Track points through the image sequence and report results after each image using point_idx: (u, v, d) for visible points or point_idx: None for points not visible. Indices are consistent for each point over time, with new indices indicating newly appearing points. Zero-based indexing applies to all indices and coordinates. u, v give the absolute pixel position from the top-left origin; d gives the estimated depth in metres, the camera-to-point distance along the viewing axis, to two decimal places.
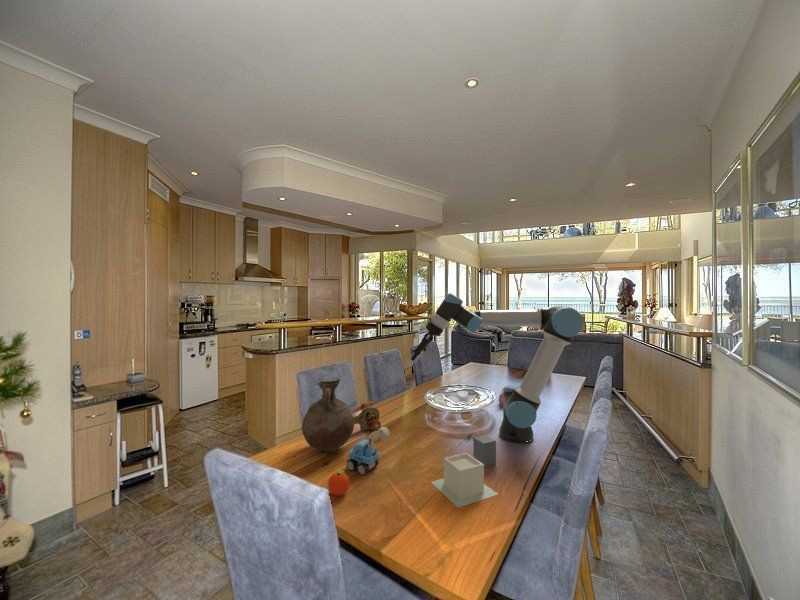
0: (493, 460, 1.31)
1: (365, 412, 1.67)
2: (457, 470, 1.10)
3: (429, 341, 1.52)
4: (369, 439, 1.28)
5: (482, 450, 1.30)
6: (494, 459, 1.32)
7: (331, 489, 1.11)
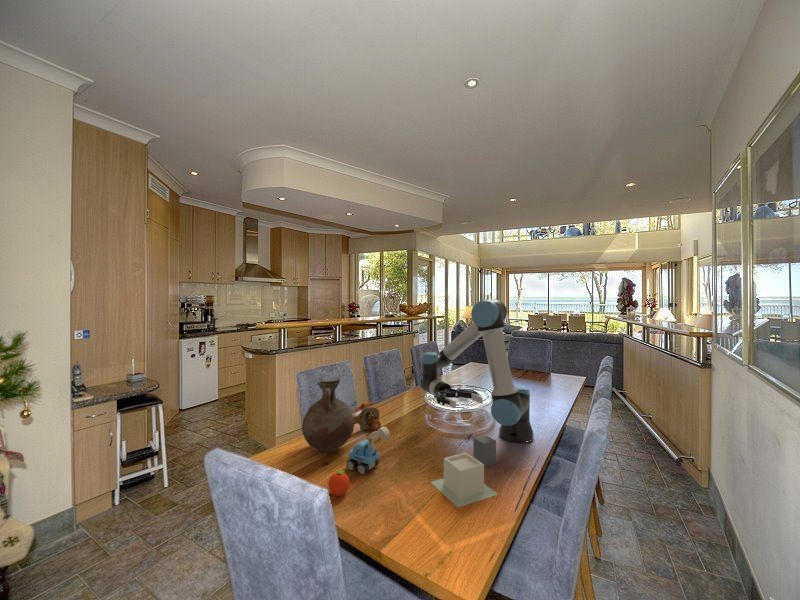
0: (493, 460, 1.31)
1: (365, 412, 1.67)
2: (457, 470, 1.10)
3: (444, 391, 1.53)
4: (369, 439, 1.28)
5: (482, 450, 1.30)
6: (494, 459, 1.32)
7: (331, 489, 1.11)
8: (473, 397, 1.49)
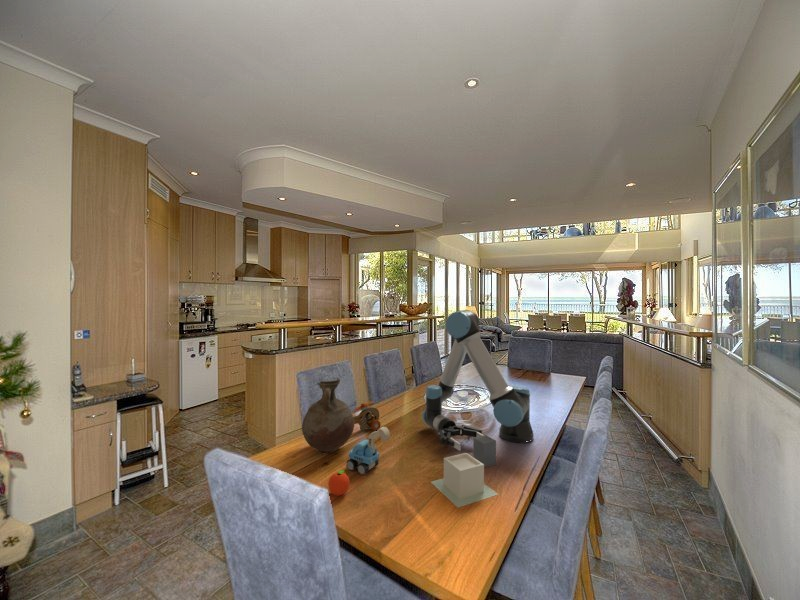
0: (493, 460, 1.31)
1: (365, 412, 1.67)
2: (457, 470, 1.10)
3: None
4: (369, 439, 1.28)
5: (482, 450, 1.30)
6: (494, 459, 1.32)
7: (331, 489, 1.11)
8: (478, 436, 1.45)
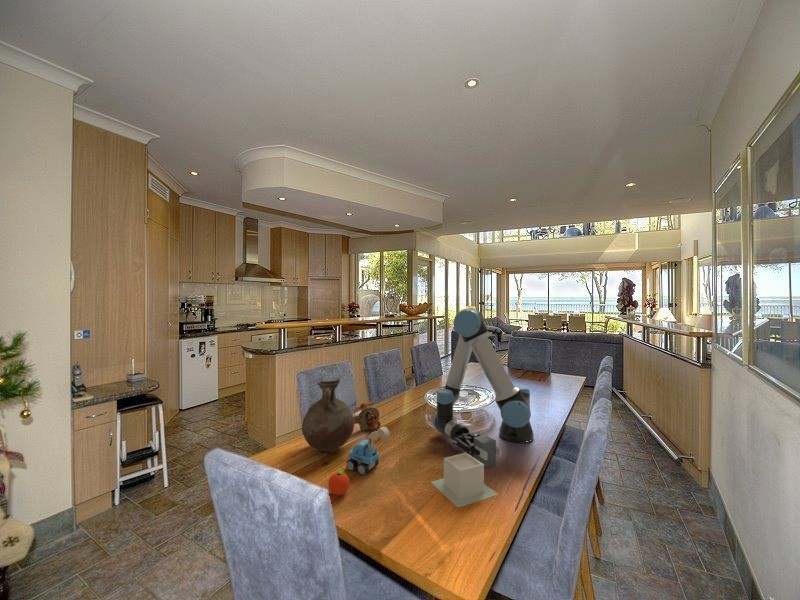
0: (493, 460, 1.31)
1: (365, 412, 1.67)
2: (457, 470, 1.10)
3: (464, 437, 1.41)
4: (369, 439, 1.28)
5: None
6: (494, 459, 1.32)
7: (331, 489, 1.11)
8: None
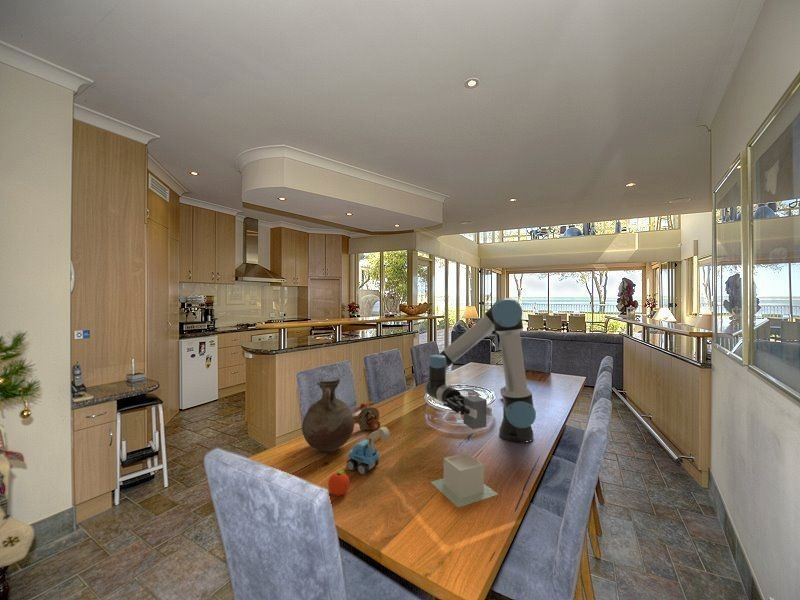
0: (483, 419, 1.28)
1: (364, 412, 1.67)
2: (457, 470, 1.10)
3: (455, 398, 1.38)
4: (369, 439, 1.28)
5: None
6: (484, 419, 1.28)
7: (331, 489, 1.11)
8: None
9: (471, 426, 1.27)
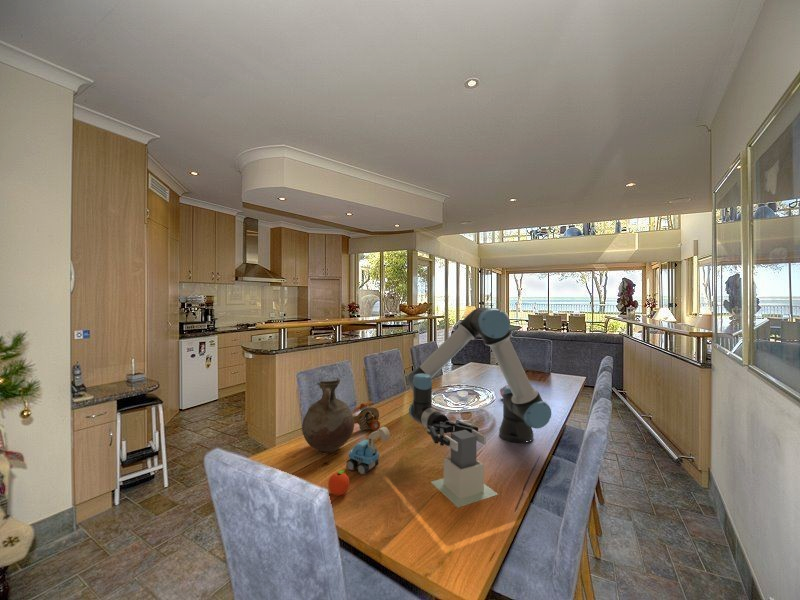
0: (473, 458, 1.13)
1: (364, 412, 1.67)
2: (457, 470, 1.10)
3: (440, 425, 1.23)
4: (369, 439, 1.28)
5: (460, 447, 1.12)
6: (474, 457, 1.14)
7: (331, 489, 1.11)
8: None
9: (459, 466, 1.12)
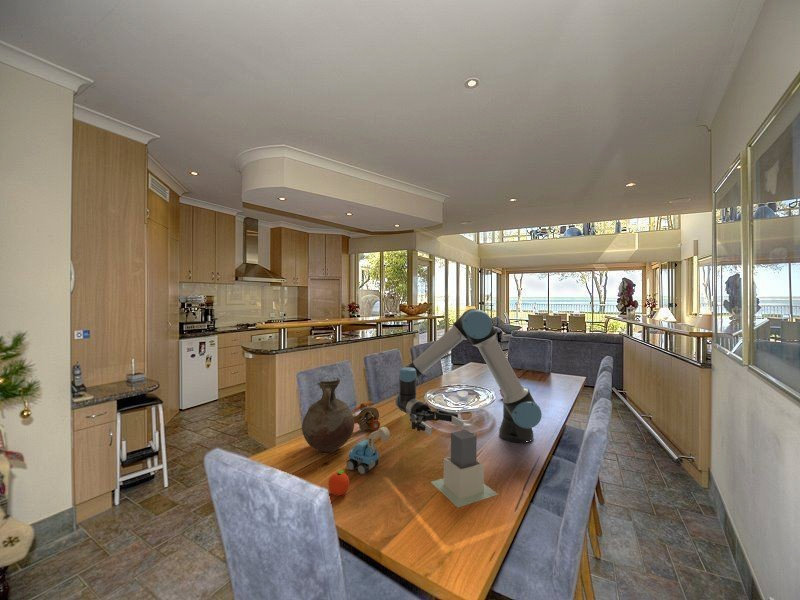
0: (473, 458, 1.13)
1: (364, 412, 1.67)
2: (457, 470, 1.10)
3: (421, 413, 1.35)
4: (369, 439, 1.28)
5: (460, 447, 1.12)
6: (474, 457, 1.14)
7: (331, 489, 1.11)
8: (453, 421, 1.31)
9: (459, 466, 1.12)
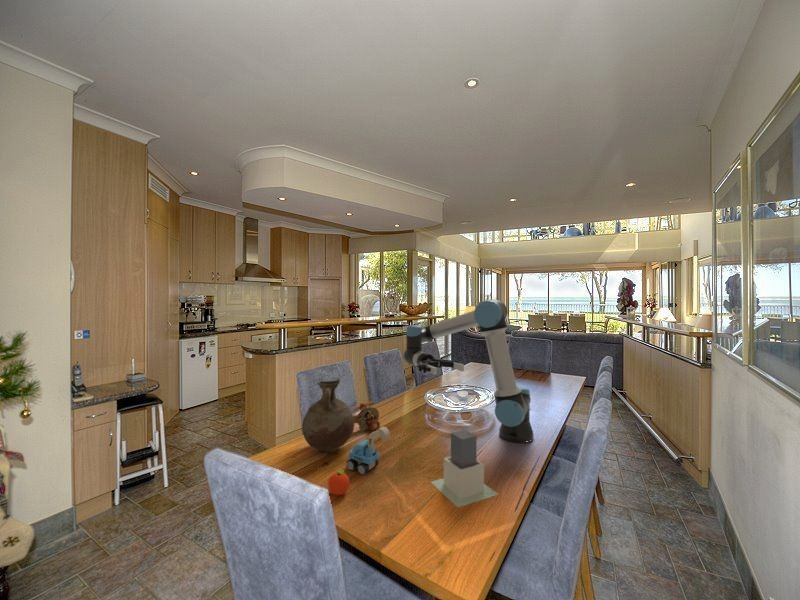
0: (473, 458, 1.13)
1: (364, 412, 1.67)
2: (457, 470, 1.10)
3: (426, 360, 1.52)
4: (369, 439, 1.28)
5: (460, 447, 1.12)
6: (474, 457, 1.14)
7: (331, 489, 1.11)
8: (455, 366, 1.49)
9: (459, 466, 1.12)
